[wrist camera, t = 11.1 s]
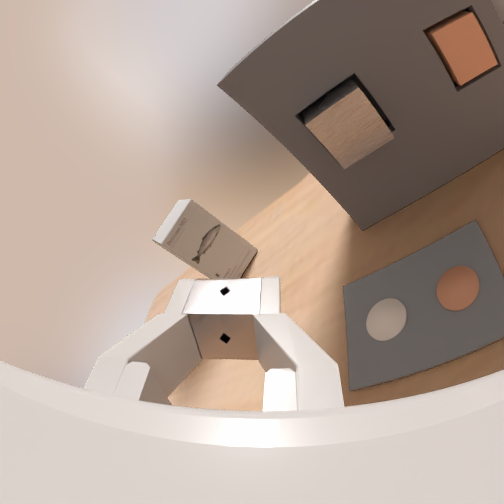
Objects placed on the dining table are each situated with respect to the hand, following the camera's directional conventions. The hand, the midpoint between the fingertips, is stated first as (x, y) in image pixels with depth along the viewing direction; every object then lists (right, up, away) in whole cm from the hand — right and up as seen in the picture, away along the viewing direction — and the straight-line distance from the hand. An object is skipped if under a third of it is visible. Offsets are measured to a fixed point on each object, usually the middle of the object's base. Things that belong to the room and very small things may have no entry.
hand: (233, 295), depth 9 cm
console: (+21, +11, +15) cm, 28 cm away
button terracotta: (+19, +17, +6) cm, 26 cm away
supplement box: (-2, -1, +36) cm, 36 cm away
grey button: (+10, +10, +13) cm, 19 cm away
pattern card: (+14, -3, +10) cm, 17 cm away
